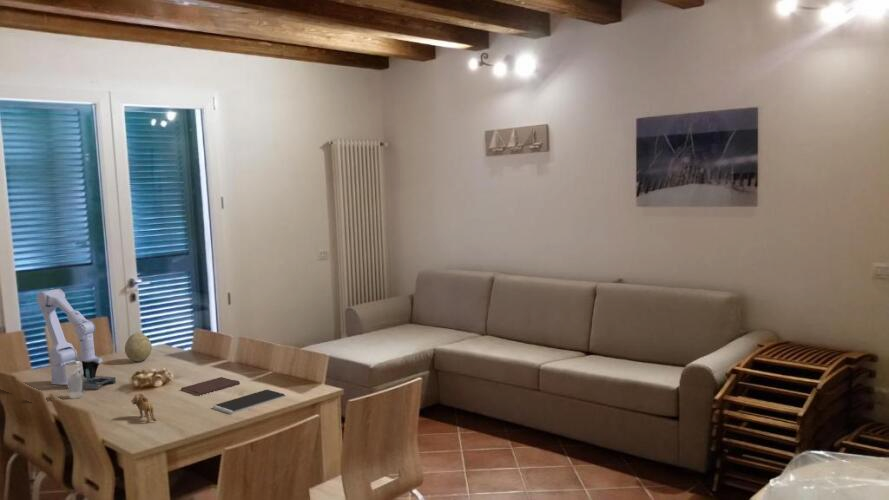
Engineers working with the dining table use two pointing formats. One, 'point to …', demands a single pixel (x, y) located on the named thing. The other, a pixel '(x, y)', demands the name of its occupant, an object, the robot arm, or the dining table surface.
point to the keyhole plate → (97, 382)
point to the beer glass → (74, 379)
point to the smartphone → (248, 401)
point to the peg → (88, 374)
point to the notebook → (210, 386)
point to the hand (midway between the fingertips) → (89, 377)
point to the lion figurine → (143, 406)
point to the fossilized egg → (138, 347)
